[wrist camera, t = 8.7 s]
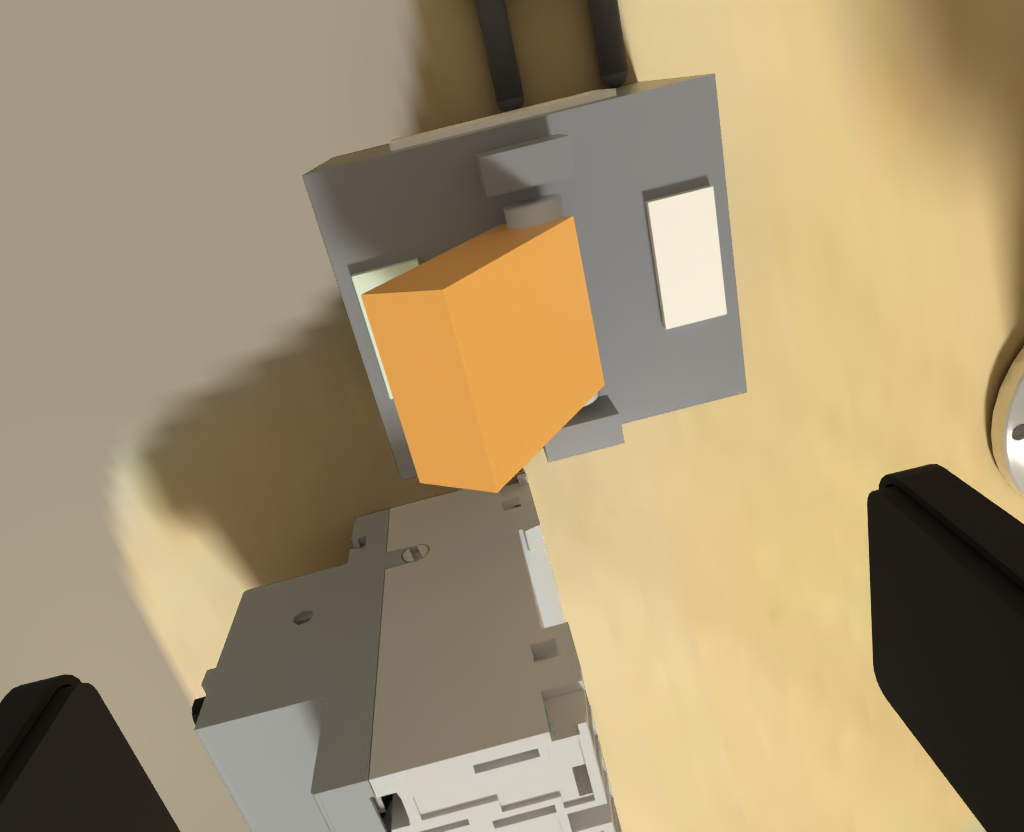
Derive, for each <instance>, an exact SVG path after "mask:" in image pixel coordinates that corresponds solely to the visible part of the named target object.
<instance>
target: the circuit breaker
mask: <svg viewBox="0 0 1024 832" xmlns="http://www.w3.org/2000/svg"><path fill="white" fill-rule="evenodd" d="M517 479H518V483H514V484H510V485H506V486H504V487H503V488H502V489H501V490H500V491H499V492H498V493H494V492H486V491H478V490H471V489H463V490H459V491H455V492H451V493H447V494H443V495H440V496H436V497H432V498H428V499H424V500H420V501H417V502H413V503H409V504H405V505H401V506H398V507H394V508H390V509H386V510H382V511H379V512H375V513H371V514H367V515H363V516H360V517H357V518H355V520H354V526H353V532H352V538H351V541H352V544H353V546H354V549H350V550H349V557H348V562H347V563H346V564H344V565H340V566H336V567H333V568H329V569H325V570H321V571H318V572H314V573H310V574H306V575H303V576H299V577H295V578H291V579H288V580H284V581H280V582H276V583H273V584H269V585H265V586H261V587H257V588H254V589H250V590H246V591H245V592H244V593H243V596H242V598H241V601H240V604H239V606H238V609H237V612H236V615H235V617H234V620H233V623H232V626H231V628H230V631H229V634H228V637H227V639H226V642H225V645H224V647H223V650H222V653H221V656H220V658H219V661H218V664H217V667H216V668H214V669H210V670H207V672H206V674H205V677H204V679H203V682H202V687H203V689H204V691H205V693H206V697H202V698H199V699H196V700H194V703H193V706H192V716H193V720H194V723H195V725H196V726H195V729H194V730H195V732H196V734H197V736H198V738H199V739H200V741H201V743H202V745H203V747H204V748H205V750H206V752H207V754H208V755H209V757H210V759H211V761H212V763H213V765H214V766H215V768H216V770H217V772H218V773H219V775H220V777H221V779H222V781H223V782H224V784H225V786H226V788H227V789H228V791H229V793H230V795H231V797H232V798H233V800H234V802H235V804H236V806H237V807H238V809H239V811H240V813H241V814H242V816H243V818H244V820H245V822H246V823H247V825H248V827H249V829H250V831H251V832H622V830H621V826H620V822H619V819H618V815H617V811H616V808H615V804H614V798H613V794H612V790H611V786H610V782H609V778H608V774H607V770H606V766H605V762H604V758H603V754H602V750H601V746H600V742H599V738H598V734H597V730H596V726H595V722H594V718H593V714H592V710H591V706H590V705H589V701H588V698H587V694H586V691H585V686H584V681H583V676H582V671H581V667H580V663H579V660H578V656H577V653H576V649H575V646H574V642H573V638H572V635H571V631H570V628H569V624H568V622H566V623H565V620H564V616H563V612H562V608H561V604H560V601H559V597H558V593H557V589H556V585H555V581H554V577H553V573H552V569H551V565H550V561H549V557H548V553H547V549H546V546H545V542H544V538H543V534H542V530H541V526H540V522H539V519H538V515H537V512H536V508H535V505H534V501H533V498H532V494H531V490H530V488H529V484H528V480H527V476H526V473H524V474H520V475H517ZM519 504H520V505H519ZM515 505H518V506H515Z"/></svg>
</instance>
